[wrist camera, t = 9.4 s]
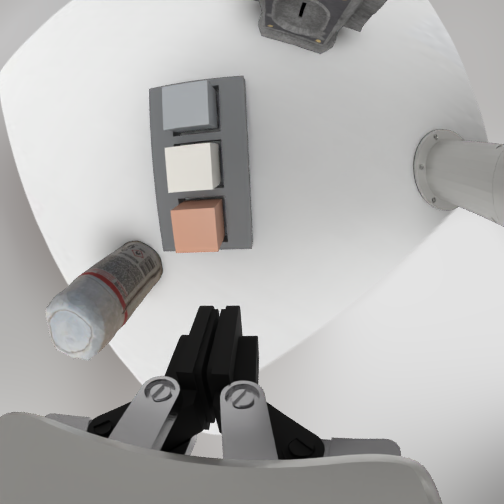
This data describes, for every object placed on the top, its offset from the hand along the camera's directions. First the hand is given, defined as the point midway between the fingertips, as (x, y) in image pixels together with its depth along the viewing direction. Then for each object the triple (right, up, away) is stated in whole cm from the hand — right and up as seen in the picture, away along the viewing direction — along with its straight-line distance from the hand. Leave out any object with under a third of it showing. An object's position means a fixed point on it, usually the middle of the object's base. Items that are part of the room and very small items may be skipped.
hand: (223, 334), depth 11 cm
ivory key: (-5, +14, +22) cm, 27 cm away
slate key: (-6, +21, +19) cm, 29 cm away
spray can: (-17, +2, +29) cm, 34 cm away
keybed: (-5, +15, +23) cm, 28 cm away
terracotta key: (-5, +8, +24) cm, 26 cm away
